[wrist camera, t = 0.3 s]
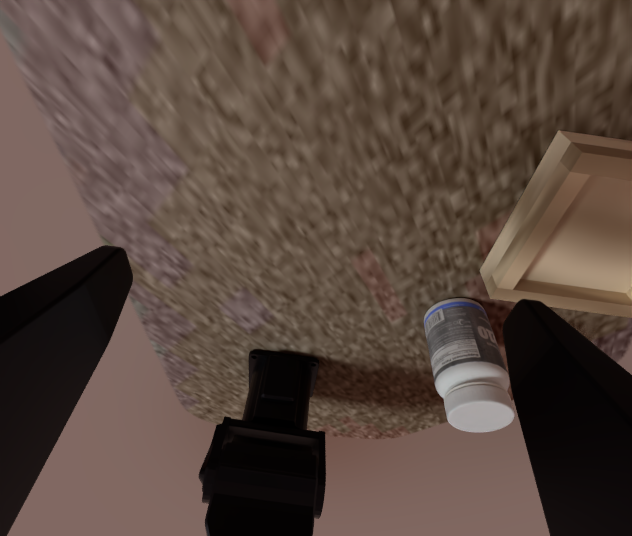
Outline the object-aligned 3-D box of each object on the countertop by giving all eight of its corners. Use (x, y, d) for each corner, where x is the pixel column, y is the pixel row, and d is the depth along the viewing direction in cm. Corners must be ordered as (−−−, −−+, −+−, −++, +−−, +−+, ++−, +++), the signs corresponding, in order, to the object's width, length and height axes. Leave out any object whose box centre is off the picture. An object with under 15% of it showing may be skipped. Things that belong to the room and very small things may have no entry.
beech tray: (618, 289, 26) (640, 318, 24) (479, 270, 26) (490, 298, 24) (743, 157, 19) (789, 182, 17) (558, 130, 19) (582, 152, 17)
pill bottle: (492, 325, 30) (529, 428, 23) (434, 341, 31) (455, 440, 25) (475, 287, 27) (512, 392, 21) (414, 307, 29) (430, 409, 23)
